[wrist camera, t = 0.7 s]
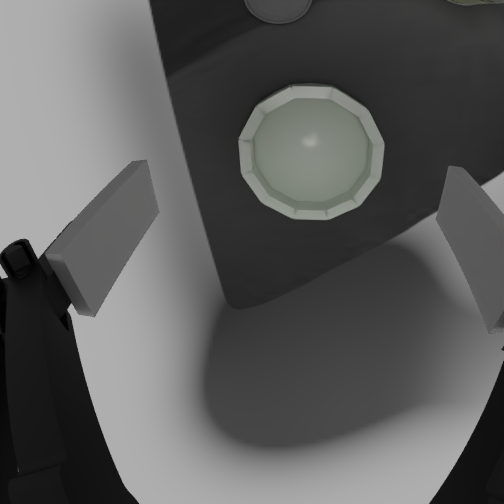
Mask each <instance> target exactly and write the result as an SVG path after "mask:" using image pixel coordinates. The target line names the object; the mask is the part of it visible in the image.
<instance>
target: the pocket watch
mask: <svg viewBox="0 0 504 504" xmlns="http://www.w3.org/2000/svg"><path fill="white" fill-rule="evenodd" d="M244 2H245V4H246V6H247V8H248V10H249V11H250V12H251V13H252V14H253V15H254V16H256V17H257V18H258V19H260V20H263V21H265V22H268V23H274V24H285V23H290V22H293V21H296V20H297V19H299V18H300V17H302V16H303V15H304V14H306V12H307V11H308V9H309V8H310V6H311V3H312V0H244Z"/></svg>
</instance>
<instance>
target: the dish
mask: <svg viewBox="0 0 504 504" xmlns="http://www.w3.org/2000/svg"><path fill="white" fill-rule="evenodd" d="M238 141H239V153H240V165H241V174H242V176H243V177H244V179H245V180H246V182H247V183H248V184H249V186H250V187H251V189H252V190H253V191H254V193H255V194H256V196H257V197H258V199H259V200H260V201H261V202H262V203H263V204H265V205H267V206H269V207H271V208H273V209H275V210H277V211H278V212H280V213H282V214H284V215H286V216H288V217H290V218H293V217H294V219H311V220H327V218H328V220H329V219H331V218H334V217H336V216H338V215H340V214H343V213H345V212H347V211H349V210H352V209H354V208H356V207H358V206H359V205H361V204H362V202H363V201H364V200H365V198H366V197H367V196H368V195H369V193H370V192H371V191H372V189H373V188H374V187H375V186H376V184H377V183H378V182H379V180H380V178H381V172H382V164H383V155H384V145H385V144H384V141H383V139H382V137H381V135H380V133H379V130H378V128H377V126H376V124H375V122H374V120H373V118H372V116H371V114H370V112H369V110H368V109H367V108H366V107H365V106H364V105H363V104H361V103H360V102H358V101H357V100H355V99H354V98H352V97H351V96H349V95H348V94H347V93H345V92H343V91H341V90H339V89H338V88H336V87H334V86H333V85H332V86H331V85H326V84H318V83H300V84H292V85H291V84H290V85H288V86H286V87H284V88H282V89H280V90H278V91H276V92H274V93H272V94H271V95H269V96H268V97H267V98H265V99H263V100H262V101H260V102H259V103H258V104H257V105H256V107H255V109H254V110H253V112H252V114H251V116H250V118H249V120H248V122H247V124H246V125H245V127H244V129H243V131H242V133H241V135H240V137H239V140H238Z"/></svg>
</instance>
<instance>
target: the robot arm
mask: <svg viewBox="0 0 504 504" xmlns="http://www.w3.org/2000/svg"><path fill="white" fill-rule="evenodd" d="M158 213H159V209H158V205H157V201H156V197H155V193H154V189H153V184H152V180H151V176H150V171H149V167H148V163H147V160H140V161H132V162H131V163H130V164H129V165H128V166H127V167H126V168H125V169H123V170H122V171H121V172H120V173H119V174H118V175H117V176H116V177H115V178H114V179H113V180H112V181H111V182H110V183H109V184H108V185H107V186H106V187H105V188H104V189H103V190H102V191H101V192H100V193H99V194H98V195H97V196H96V197H95V198H94V199H93V200H92V201H91V202H90V203H89V204H88V205H87V206H86V207H85V208H84V209H83V210H82V211H81V213H80V214H79V215H78V216H77V217H76V218H75V219H74V220H73V221H71V222H70V223H69V224H68V225H67V226H66V227H65V229H64V230H63V231H62V232H61V233H60V234H59V235H58V236H57V239H55V240H54V241H53V242H52V243H51V244H50V246H49V247H48V248H47V249H46V250H45V252H44V253H43V254H42V255H41V256H40V258H39V259H37V256H36V255H35V253H34V251H33V249H32V247H31V245H30V243H29V240H27V239H20V240H17V241H15V242H13V243H11V244H10V245H8V247H6V248H5V249H4V250H3V251H2V252H1V254H0V264H1V266H2V267H3V269H4V271H5V272H6V274H7V276H8V278H4V279H1V277H0V504H139V503H138V502H137V500H136V499H135V498H134V497H133V496H132V494H131V493H130V492H129V491H128V490H127V489H126V487H125V486H124V484H123V482H122V480H121V478H120V475H119V473H118V471H117V469H116V466H115V464H114V462H113V459H112V457H111V454H110V452H109V449H108V447H107V444H106V441H105V439H104V436H103V433H102V430H101V428H100V425H99V422H98V419H97V416H96V413H95V410H94V407H93V403H92V400H91V397H90V394H89V390H88V387H87V383H86V380H85V376H84V372H83V368H82V364H81V361H80V357H79V352H78V348H77V344H76V339H75V335H74V329H73V325H72V320H71V316H70V314H69V312H68V311H67V309H68V307H69V306H70V304H71V303H72V304H73V306H74V308H75V309H76V311H77V313H78V314H79V315H85V316H91V317H95V316H96V314H97V312H98V311H99V309H100V307H101V305H102V303H103V302H104V299H105V298H106V296H107V295H108V293H109V291H110V289H111V288H112V286H113V284H114V283H115V281H116V279H117V278H118V276H119V274H120V273H121V271H122V269H123V268H124V266H125V265H126V263H127V261H128V260H129V258H130V257H131V255H132V253H133V251H134V250H135V248H136V247H137V245H138V244H139V242H140V241H141V239H142V238H143V236H144V234H145V233H146V231H147V230H148V228H149V227H150V225H151V224H152V222H153V221H154V219H155V218H156V216H157V215H158ZM436 221H437V223H438V224H439V226H440V228H441V230H442V231H443V233H444V235H445V237H446V239H447V241H448V243H449V245H450V247H451V249H452V250H453V252H454V254H455V256H456V258H457V260H458V262H459V265H460V266H461V268H462V271H463V273H464V275H465V277H466V279H467V282H468V284H469V286H470V288H471V291H472V293H473V295H474V297H475V300H476V302H477V304H478V307H479V310H480V312H481V314H482V317H483V319H484V322H485V325H486V327H487V330H488V333H489V334H492V333H502V332H504V214H503V213H502V212H501V211H500V209H499V208H498V207H497V206H496V204H495V203H494V202H493V201H492V200H491V199H490V197H489V196H488V195H487V194H486V193H485V191H484V190H483V189H482V188H481V187H480V186H479V185H478V184H477V182H476V181H475V180H474V179H473V178H472V177H471V176H470V175H469V174H468V173H467V172H466V171H465V169H464V168H462V167H455V166H448V171H447V176H446V180H445V185H444V189H443V193H442V197H441V201H440V205H439V209H438V213H437V217H436ZM502 350H503V351H504V346H503V348H502ZM429 504H504V361H503V364H502V367H501V370H500V372H499V375H498V378H497V380H496V383H495V386H494V388H493V390H492V392H491V395H490V397H489V400H488V402H487V404H486V407H485V409H484V411H483V413H482V415H481V417H480V419H479V421H478V423H477V425H476V428H475V429H474V431H473V433H472V435H471V437H470V439H469V441H468V443H467V445H466V446H465V448H464V450H463V452H462V454H461V455H460V457H459V459H458V461H457V462H456V464H455V466H454V467H453V469H452V470H451V472H450V474H449V475H448V477H447V478H446V480H445V482H444V483H443V485H442V486H441V487H440V489H439V490H438V492H437V493H436V495H435V496H434V498H433V499H432V501H431V502H430V503H429Z"/></svg>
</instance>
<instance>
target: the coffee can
mask: <svg viewBox="0 0 504 504" xmlns="http://www.w3.org/2000/svg"><path fill="white" fill-rule="evenodd" d="M447 1H449V2H451V3H455V4H458V5H464V6H469V5H475V4H488V3H504V0H447Z"/></svg>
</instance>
